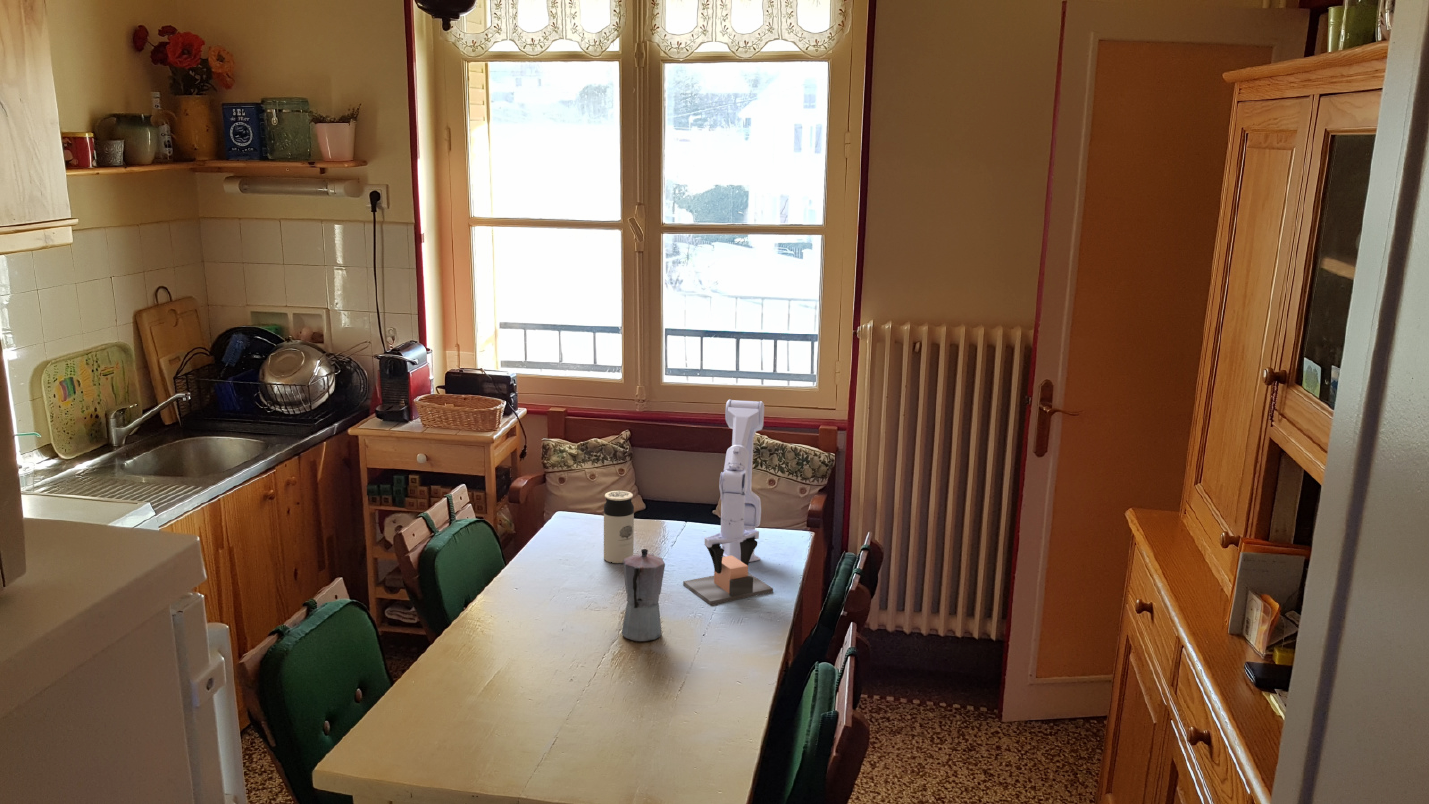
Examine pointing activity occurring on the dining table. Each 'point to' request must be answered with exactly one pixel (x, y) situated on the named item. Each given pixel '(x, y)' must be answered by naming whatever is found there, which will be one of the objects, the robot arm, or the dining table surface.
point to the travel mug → (618, 526)
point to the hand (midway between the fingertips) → (731, 569)
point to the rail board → (736, 591)
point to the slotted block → (730, 572)
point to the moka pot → (643, 596)
